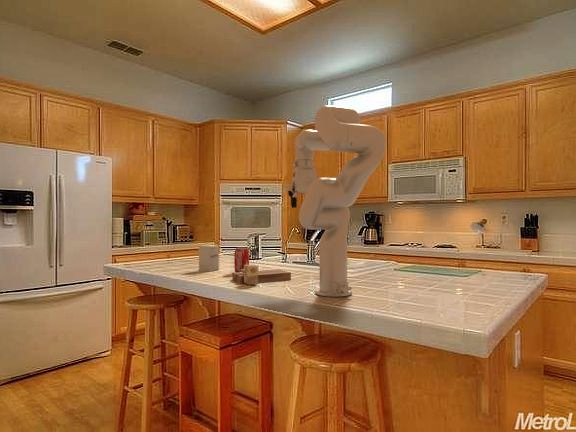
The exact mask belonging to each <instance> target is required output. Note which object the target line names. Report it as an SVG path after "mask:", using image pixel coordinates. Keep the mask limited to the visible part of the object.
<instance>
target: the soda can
mask: <svg viewBox="0 0 576 432" xmlns="http://www.w3.org/2000/svg"><path fill="white" fill-rule="evenodd" d="M233 255H234V257H233V258H234V260H233V262H234V263H233V264H234V265H233V266H234V269H233V270H234V272H242V271H241V270H242V269H244V265H250V250H249V248H248V247H236V248H235V250H234V254H233Z"/></svg>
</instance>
